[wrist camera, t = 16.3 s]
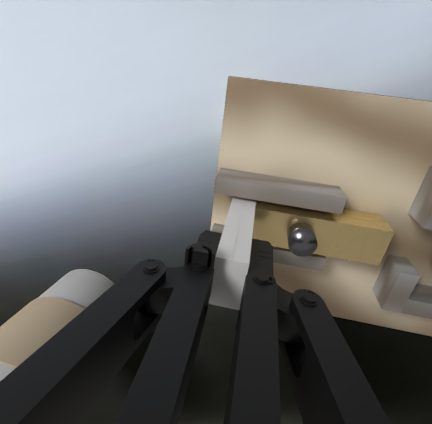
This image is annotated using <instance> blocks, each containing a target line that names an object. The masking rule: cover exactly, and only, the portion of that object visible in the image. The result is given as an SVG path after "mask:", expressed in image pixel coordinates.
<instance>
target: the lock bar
mask: <svg viewBox="0 0 432 424" xmlns="http://www.w3.org/2000/svg"><path fill="white" fill-rule="evenodd" d="M255 202H256V206H255V215H254V225H253V234H252V238H253V239H258V240H264V241H269V242H270V244H271V245H272V246H274V247H280V248H285V249H289V250H290V251H291V252H292V253H293V254H294V255H297V256H301V257H304V256H309V255H311V254H318V255H323V256H329V257H334V258H340V259H345V260H350V261H356V262H361V263H367V264H372V265H378V266H379V265H380V263H381V261H382V258H383V256H384V254H385V252H386V250H387V248H388V245H389V243H390V241H391V239H392V237H393V235H394V231H393V229H392V228H391V227H390V225H389V224H388V223H387V222H386V220H385V219H384V218H383V216H382V215H379V214H373V213H367V212H361V211H355V210H349V209H343V212H342V214H336V213H330V212H324V211H318V210H312V209H306V208H300V207H294V206H288V205H282V204H276V203H271V202H265V201H259V200H255Z"/></svg>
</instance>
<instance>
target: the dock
mask: <svg viewBox="0 0 432 424" xmlns="http://www.w3.org/2000/svg"><path fill="white" fill-rule="evenodd" d="M214 193H215V195H214V204H213V213H212V221H211V230H210V231H213V232H218V233H222V232H223V229H224V226H225V222H226V219H227V215H228V212H229V209H230V205H231V202H232V198H238V199H244V200H249V201H255V200H259V201H265V202H271V203H276V204H282V205H288V206H294V207H300V208H306V209H312V210H318V211H324V212H330V213H336V214H342V212H343V209H349V210H355V211H361V212H367V213H373V214H379V215H382V216H383V218H384V219H385V220H386V222H387V223H388V224H389V225H390V227H391V228H392V229H393V231H394V235H393V237H392V239H391V241H390V243H389V245H388V248H387V250H386V252H385V254H384V256H383V258H382V261H381V263H380V265H379V266H378V265H372V264H367V263H361V262H356V261H350V260H345V259H340V258H334V257H329V256H323V255H318V254H311V255H309V256H304V257H301V256H297V255H294V254H293V253H292V252H291V251H290V250H289V249H285V248H280V247H274V246H272V247H273V272H274V278H275V279H276V283H277V284H278V285H279V286H280V287H281V288H283V289H285V290H286V291H289V292H291V293H294V291H296V290H298V289H307V290H311V291H313V292H315V293H317V294H318V295H319V296H321V298H322V299H323V300H324V302H325V304H326V306H327V307H328V309H329V311H330V313H331V315H332V316H334V317H339V318H344V319H349V320H354V321H359V322H364V323H369V324H374V325H378V326H383V327H388V328H393V329H398V330H403V331H408V332H413V333H418V334H422V335H427V336H432V101H424V100H416V99H408V98H400V97H392V96H384V95H376V94H368V93H360V92H352V91H344V90H336V89H328V88H321V87H313V86H305V85H297V84H289V83H281V82H273V81H265V80H257V79H249V78H241V77H233V76H229V77H228V83H227V92H226V100H225V109H224V118H223V126H222V135H221V144H220V152H219V161H218V169H217V176H216V179H215V187H214Z"/></svg>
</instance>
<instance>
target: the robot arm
mask: <svg viewBox="0 0 432 424" xmlns="http://www.w3.org/2000/svg"><path fill="white" fill-rule="evenodd" d="M255 206H256V202H255V201H249V200H244V199H238V198H232V202H231V205H230V209H229V212H228V215H227V219H226V222H225V226H224V229H223V232H222V233H218V232H213V231H208V230H206V231H204V232H203V233H202V234H200V237H199V239H198V241H197V244H192V245H190V246H188V247H187V248H186V253H185V264H184V266H182V267H178V268H166V265H165V264H164V263H163V262H162V261H160V260H156V259H147V260H143V261H141V262H140V263H138V264H137V265H136V266H135V267H133V268H132V269H131V270H130V271H129V272H128V273H126V274H125V275H124V276H123V277H122V278H120V279H119V280H118V281H117V282H116V283H115V284H113V285H112V286H111V287H110V288H109V289H108V290H106V291H105V292H104V293H103V294H102V295H101V296H99V297H98V298H97V299H96V300H95V301H94V302H92V303H91V304H90V305H89V306H88V307H87V308H85V309H84V310H83V311H82V312H81V313H80V314H78V315H77V316H76V317H75V318H74V319H73V320H71V321H70V322H69V323H68V324H67V325H66V326H64V327H63V328H62V329H61V330H60V331H59V332H57V333H56V334H55V335H54V336H53V337H52V338H50V339H49V340H48V341H47V342H46V343H44V344H43V345H42V346H41V347H40V348H39V349H37V350H36V351H35V352H34V353H33V354H32V355H30V356H29V357H28V358H27V359H26V360H25V361H23V362H22V363H21V364H20V365H19V366H18V367H16V368H15V369H14V370H13V371H12V372H11V373H9V374H8V375H7V376H6V377H5V378H4V379H2V380H1V381H0V424H77V423H78V422H79V421H80V420H81V418H82V417H83V416H84V415H85V413H86V412H87V411H88V409H89V408H90V407H91V406H92V404H93V403H94V402H95V401H96V399H97V398H98V397H99V396H100V394H101V393H102V392H103V391H104V389H105V388H106V387H107V386H108V384H109V383H110V382H111V381H112V379H113V378H114V377H115V376H116V374H117V373H118V372H119V371H120V369H121V368H122V367H123V366H124V364H125V363H126V362H127V361H128V359H129V358H130V357H131V356H132V354H133V353H134V352H135V351H136V349H137V348H138V347H139V346H140V344H141V343H142V342H143V341H144V339H145V338H146V337H147V336H148V334H149V333H150V332H151V331H152V329H153V328H154V327H155V326H156V324H157V323H158V322H159V323H158V326H157V328H156V330H155V333H154V335H153V337H152V339H151V342H150V344H149V346H148V348H147V351H146V353H145V355H144V358H143V360H142V362H141V364H140V367H139V369H138V371H137V374H136V376H135V378H134V380H133V383H132V385H131V387H130V389H129V392H128V394H127V396H126V399H125V401H124V403H123V405H122V408H121V410H120V412H119V415H118V417H117V419H116V421H115V423H114V424H178V423H179V419H180V415H181V411H182V407H183V403H184V400H185V396H186V392H187V388H188V384H189V380H190V376H191V372H192V368H193V365H194V361H195V357H196V353H197V349H198V345H199V341H200V337H201V334H202V330H203V326H204V322H205V318H206V314H207V309H208V303H209V304H213V305H217V306H222V307H226V308H231V309H236V310H239V315H238V319H237V324H236V329H235V331H236V335H235V342H234V350H233V357H232V365H231V372H230V380H229V388H228V395H227V403H226V410H225V418H224V424H281V422H280V387H279V353H278V339H279V344H280V347H281V351H282V354H283V357H284V361H285V364H286V367H287V370H288V374H289V377H290V380H291V384H292V387H293V390H294V393H295V397H296V400H297V403H298V407H299V410H300V413H301V417H302V420H303V423H304V424H391V423H390V421H389V420H388V418H387V416H386V414H385V412H384V410H383V409H382V407H381V405H380V403H379V401H378V399H377V397H376V396H375V394H374V392H373V390H372V388H371V386H370V385H369V383H368V381H367V379H366V377H365V375H364V374H363V372H362V370H361V368H360V366H359V364H358V363H357V361H356V359H355V357H354V355H353V353H352V352H351V350H350V348H349V346H348V344H347V342H346V341H345V339H344V337H343V335H342V333H341V331H340V329H339V328H338V326H337V324H336V322H335V320H334V318H333V317H332V315H331V313H330V311H329V309H328V307H327V306H326V304H325V302H324V300H323V299H322V298H321V296H319V295H318V294H317V293H315V292H313V291H311V290H307V289H298V290H296V291H294V293H291V292H289V291H286V290H285V289H283V288H281V287H280V286H279V285H278V284H277V283H276V279H275V278H274V272H273V247H272V245H271V244H270V242H269V241H264V240H258V239H253V238H252V234H253V225H254V215H255Z"/></svg>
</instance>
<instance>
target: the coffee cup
mask: <svg viewBox="0 0 432 424" xmlns="http://www.w3.org/2000/svg"><path fill="white" fill-rule="evenodd" d="M113 284H114V283H113V282H112V281H111V280H110V279H108V278H107V277H105V276H104V275H102V274H100V273H98V272H95V271H92V270H87V269H77V270H73V271H70V272H68V273H67V274H66V275H65V276H63V277H62V278H61V279H60V280H59V281H57V282H56V283H55V284H54V285H53V286H51V287H50V288H49V289H48V290H47V291H45V292H44V293H43V294H42V295H41V296H39V297H38V298H37V299H35V300H33V301H31V302H30V303H29V304H28V305H26V306H25V307H24V308H23V309H21V310H20V311H19V312H18V313H17V314H15V315H14V316H13V317H12V318H10V319H9V320H8V321H7V322H5V323H4V324H3V325H2V326H1V327H0V381H1V380H2V379H4V378H5V377H6V376H7V375H8V374H9V373H11V372H12V371H13V370H14V369H15V368H16V367H18V366H19V365H20V364H21V363H22V362H23V361H25V360H26V359H27V358H28V357H29V356H30V355H32V354H33V353H34V352H35V351H36V350H37V349H39V348H40V347H41V346H42V345H43V344H44V343H46V342H47V341H48V340H49V339H50V338H52V337H53V336H54V335H55V334H56V333H57V332H59V331H60V330H61V329H62V328H63V327H64V326H66V325H67V324H68V323H69V322H70V321H71V320H73V319H74V318H75V317H76V316H77V315H78V314H80V313H81V312H82V311H83V310H84V309H85V308H87V307H88V306H89V305H90V304H91V303H92V302H94V301H95V300H96V299H97V298H98V297H99V296H101V295H102V294H103V293H104V292H105V291H106V290H108V289H109V288H110V287H111V286H112V285H113Z"/></svg>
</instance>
